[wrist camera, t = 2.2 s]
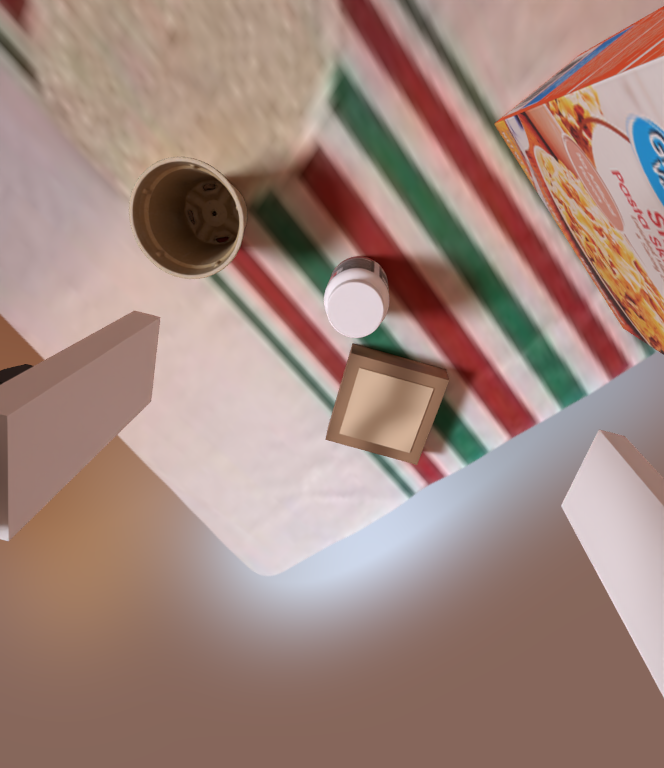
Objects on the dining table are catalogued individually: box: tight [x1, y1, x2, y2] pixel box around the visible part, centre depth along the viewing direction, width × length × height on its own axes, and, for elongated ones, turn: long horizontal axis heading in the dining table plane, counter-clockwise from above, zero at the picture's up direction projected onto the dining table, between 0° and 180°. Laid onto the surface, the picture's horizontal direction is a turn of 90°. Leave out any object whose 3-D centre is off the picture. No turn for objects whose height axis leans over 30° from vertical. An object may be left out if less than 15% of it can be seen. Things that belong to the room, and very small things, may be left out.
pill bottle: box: [324, 256, 389, 338], centre depth 47 cm, size 6×6×10 cm
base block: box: [326, 344, 449, 465], centre depth 54 cm, size 10×10×3 cm
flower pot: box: [129, 157, 247, 279], centre depth 46 cm, size 9×9×9 cm
